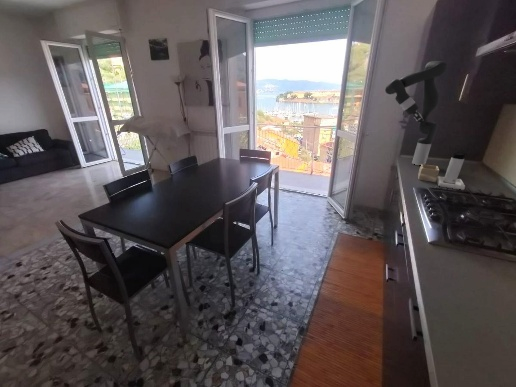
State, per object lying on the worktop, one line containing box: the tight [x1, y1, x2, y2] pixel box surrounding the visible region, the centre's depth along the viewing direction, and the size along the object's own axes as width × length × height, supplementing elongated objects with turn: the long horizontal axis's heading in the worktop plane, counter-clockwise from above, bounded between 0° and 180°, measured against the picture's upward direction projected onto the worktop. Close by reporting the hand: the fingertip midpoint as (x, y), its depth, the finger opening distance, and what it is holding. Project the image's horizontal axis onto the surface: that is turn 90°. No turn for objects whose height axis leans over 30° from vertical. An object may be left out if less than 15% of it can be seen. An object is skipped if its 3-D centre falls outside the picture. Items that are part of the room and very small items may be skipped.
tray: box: [436, 175, 466, 191], centre depth 149 cm, size 14×13×2 cm
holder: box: [417, 164, 440, 183], centre depth 159 cm, size 11×10×8 cm
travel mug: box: [443, 152, 468, 184], centre depth 145 cm, size 6×7×20 cm
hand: (424, 125), depth 152 cm, fingers open, 8 cm apart
